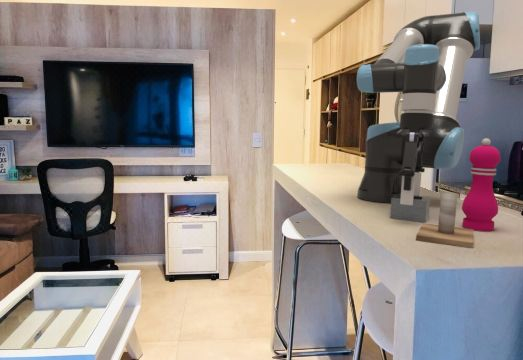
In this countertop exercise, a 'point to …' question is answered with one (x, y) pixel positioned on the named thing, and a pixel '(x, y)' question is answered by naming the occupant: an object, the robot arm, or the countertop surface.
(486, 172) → the pepper mill
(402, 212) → the grey square ring block
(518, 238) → the countertop surface
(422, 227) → the peg on square base
